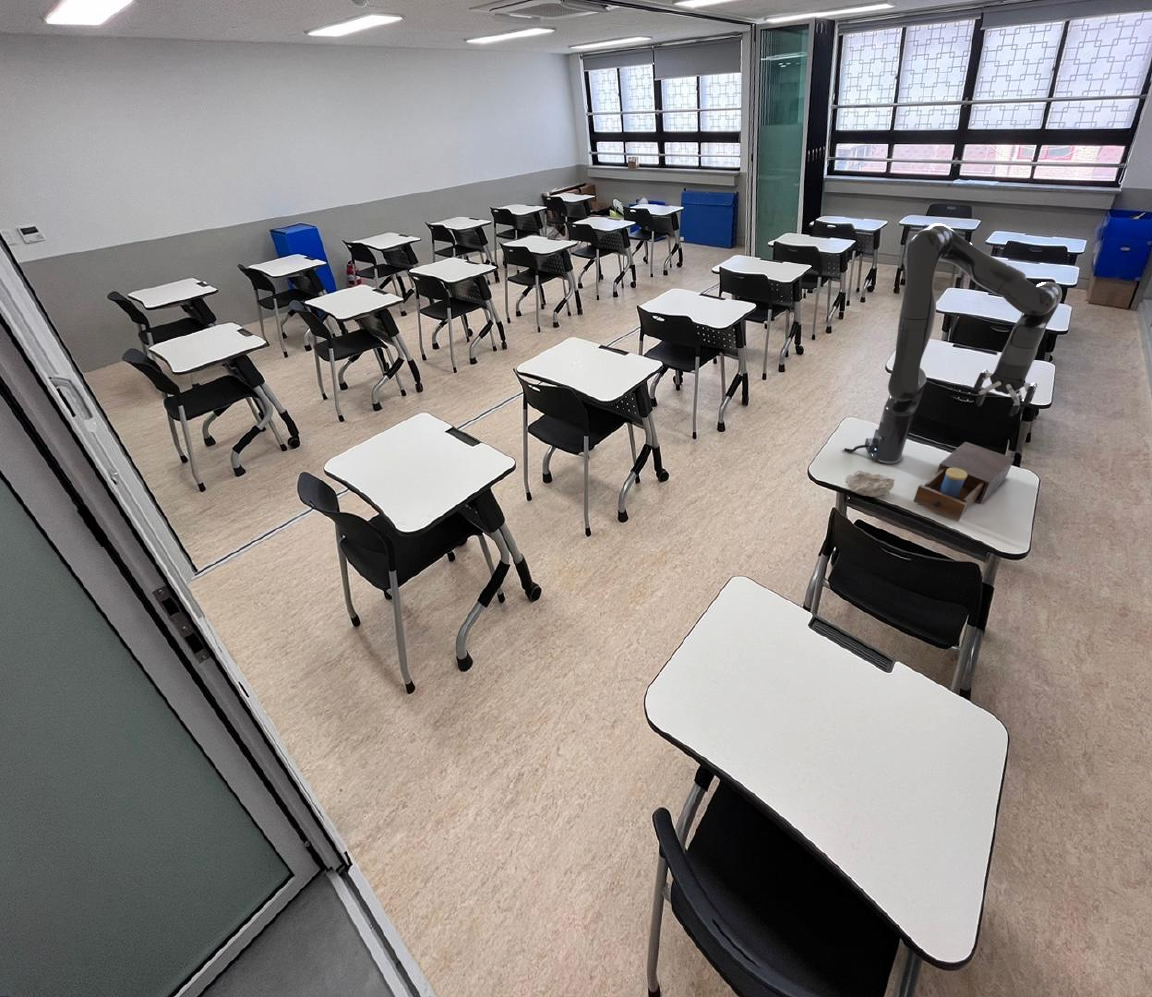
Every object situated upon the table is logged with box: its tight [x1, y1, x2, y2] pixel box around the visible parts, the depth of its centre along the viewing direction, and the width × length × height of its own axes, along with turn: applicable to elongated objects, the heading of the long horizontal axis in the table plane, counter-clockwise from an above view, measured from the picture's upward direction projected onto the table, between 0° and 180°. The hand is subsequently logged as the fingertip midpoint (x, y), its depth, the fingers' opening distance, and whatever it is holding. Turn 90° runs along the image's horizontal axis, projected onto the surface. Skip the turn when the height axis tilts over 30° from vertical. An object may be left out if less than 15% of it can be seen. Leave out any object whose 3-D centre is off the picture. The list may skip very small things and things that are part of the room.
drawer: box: [913, 468, 986, 522], centre depth 177 cm, size 18×13×6 cm
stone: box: [844, 469, 896, 498], centre depth 185 cm, size 8×12×10 cm
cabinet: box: [935, 441, 1015, 504], centre depth 184 cm, size 18×15×8 cm
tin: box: [939, 468, 967, 499], centre depth 175 cm, size 6×6×10 cm
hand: (995, 410), depth 168 cm, fingers open, 8 cm apart
